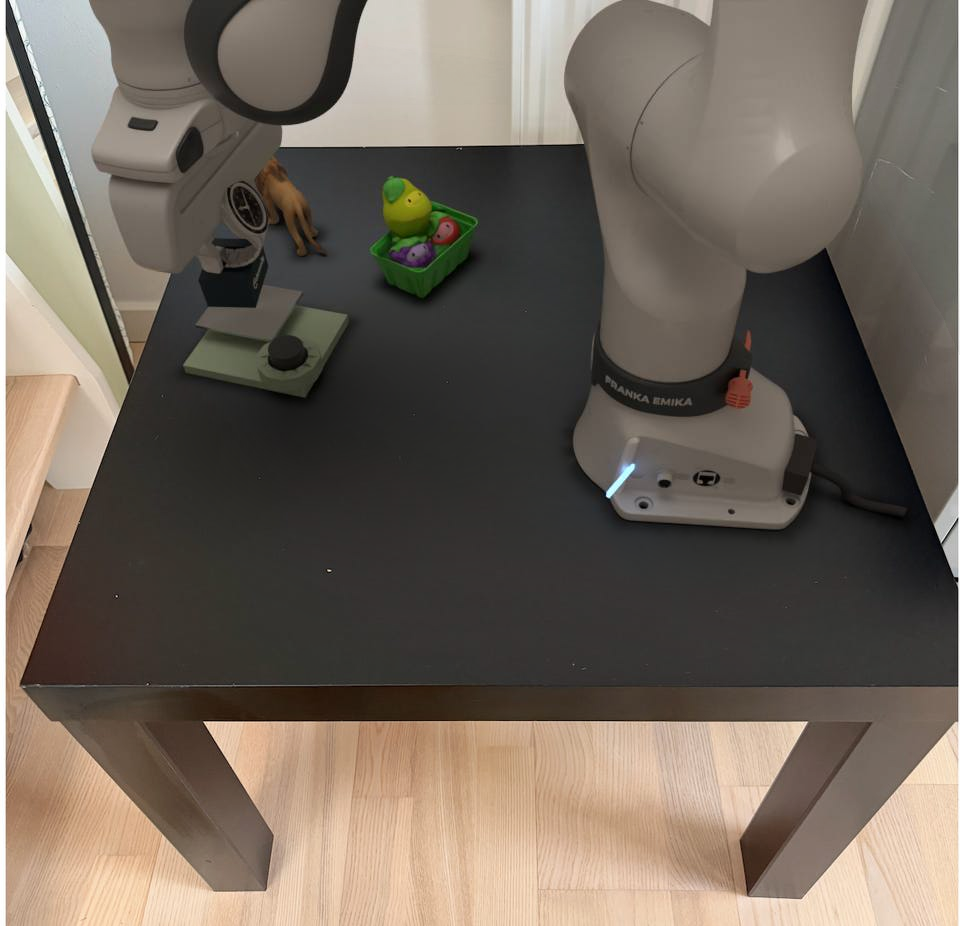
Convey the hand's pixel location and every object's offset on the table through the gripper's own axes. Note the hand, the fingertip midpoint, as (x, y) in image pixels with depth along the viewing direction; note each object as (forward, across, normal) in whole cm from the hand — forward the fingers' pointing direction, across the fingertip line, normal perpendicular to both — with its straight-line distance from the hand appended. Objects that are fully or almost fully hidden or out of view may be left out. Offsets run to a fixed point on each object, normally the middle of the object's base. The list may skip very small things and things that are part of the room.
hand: (230, 248), depth 79 cm
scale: (+19, -7, -4) cm, 21 cm away
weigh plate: (+16, -9, -7) cm, 20 cm away
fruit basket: (+19, -24, +8) cm, 32 cm away
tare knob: (+17, -4, 0) cm, 17 cm away
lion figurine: (+20, -27, -11) cm, 35 cm away
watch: (+4, 0, 0) cm, 4 cm away
